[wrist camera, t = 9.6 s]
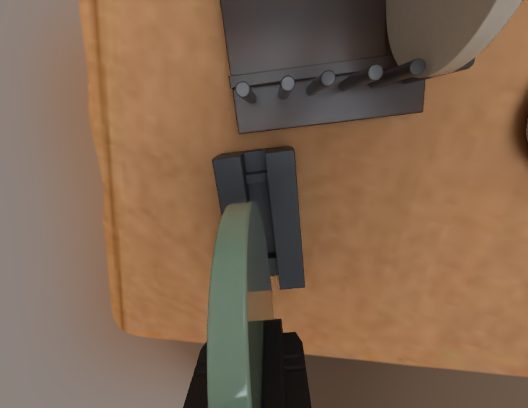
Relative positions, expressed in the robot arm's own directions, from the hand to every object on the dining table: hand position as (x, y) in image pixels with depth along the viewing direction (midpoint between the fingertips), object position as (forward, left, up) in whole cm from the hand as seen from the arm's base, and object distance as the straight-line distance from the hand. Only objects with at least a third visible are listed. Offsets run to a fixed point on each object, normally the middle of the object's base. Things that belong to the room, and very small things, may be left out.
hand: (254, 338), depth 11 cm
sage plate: (0, 0, -6) cm, 6 cm away
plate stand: (0, 0, -14) cm, 14 cm away
